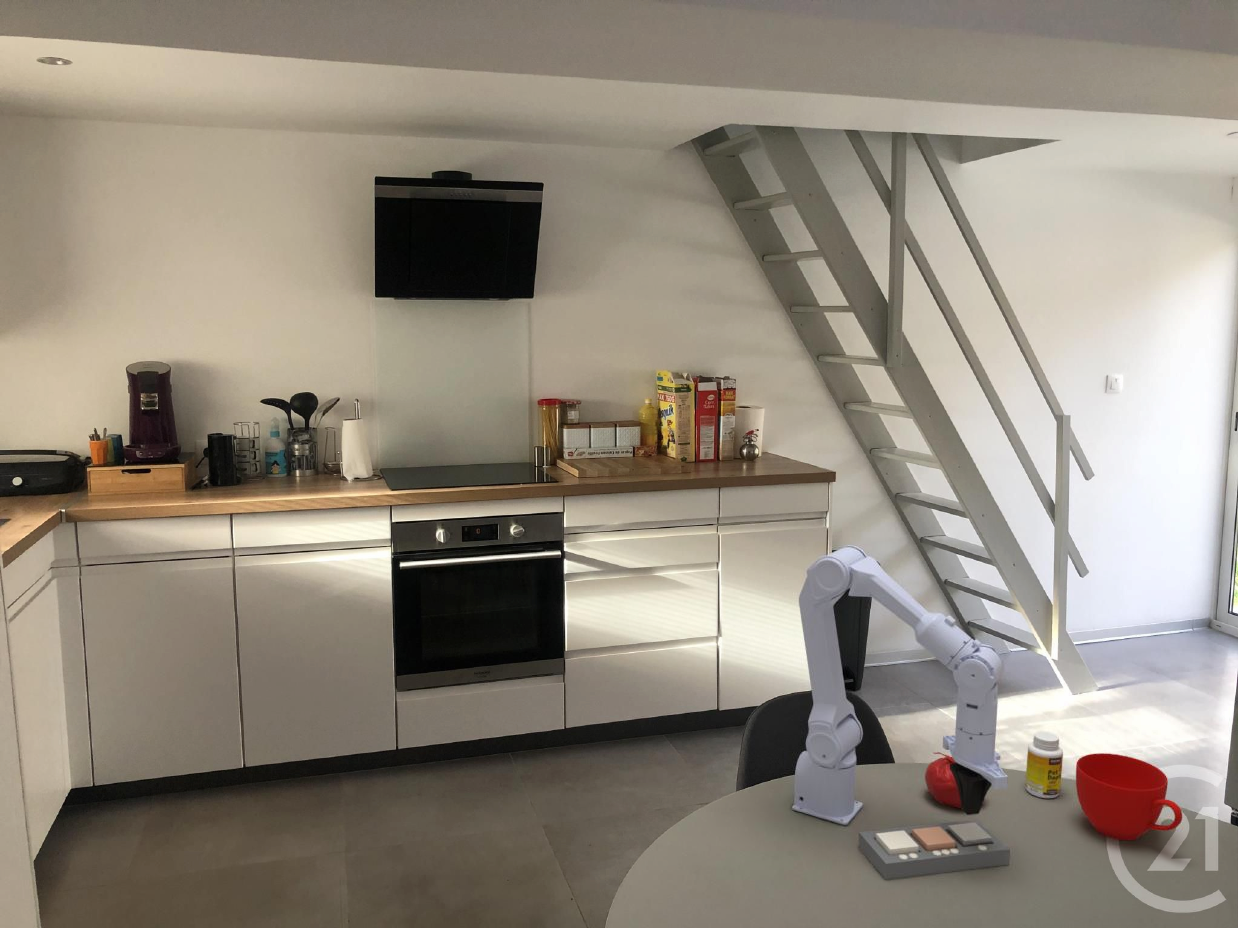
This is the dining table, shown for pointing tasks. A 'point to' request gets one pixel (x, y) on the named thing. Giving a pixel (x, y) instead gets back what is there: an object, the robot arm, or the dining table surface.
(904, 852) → the button two dot
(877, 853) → the button panel
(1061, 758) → the supplement bottle
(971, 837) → the button one dot
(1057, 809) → the dining table surface
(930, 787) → the red hollow rounded sculpture
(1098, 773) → the ceramic cup
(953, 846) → the button three dot
